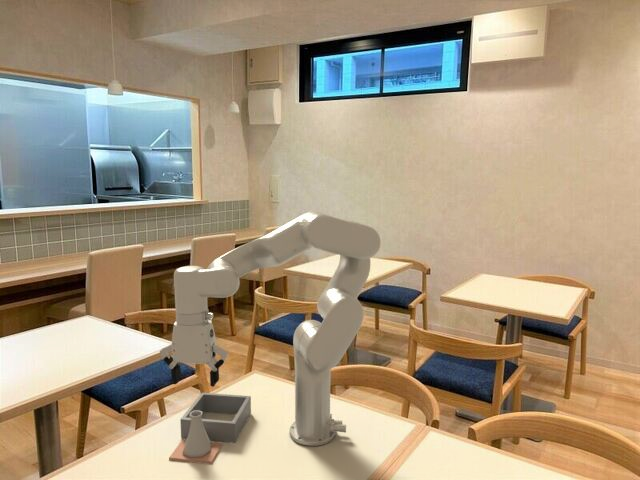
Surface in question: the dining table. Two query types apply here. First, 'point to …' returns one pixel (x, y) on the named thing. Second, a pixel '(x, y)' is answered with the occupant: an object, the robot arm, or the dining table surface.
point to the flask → (197, 437)
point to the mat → (205, 459)
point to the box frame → (219, 404)
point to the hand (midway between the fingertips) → (195, 383)
